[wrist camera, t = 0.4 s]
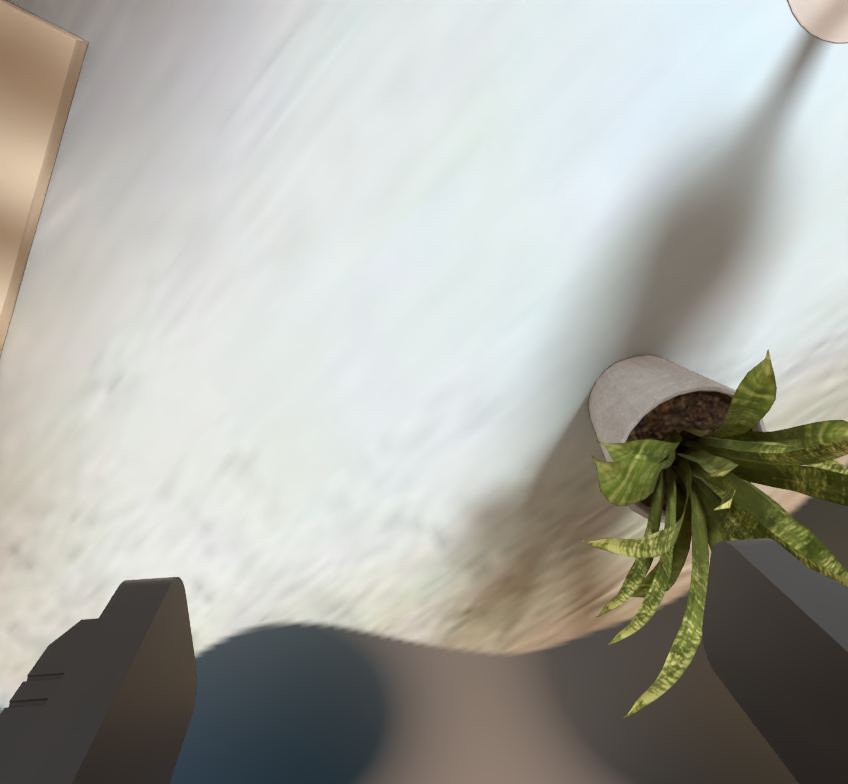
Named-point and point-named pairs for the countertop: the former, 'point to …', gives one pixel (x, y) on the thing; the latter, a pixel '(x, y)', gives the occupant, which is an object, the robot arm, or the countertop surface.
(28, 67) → the tower base
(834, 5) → the champagne flute
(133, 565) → the countertop surface
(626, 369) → the house plant
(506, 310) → the countertop surface
